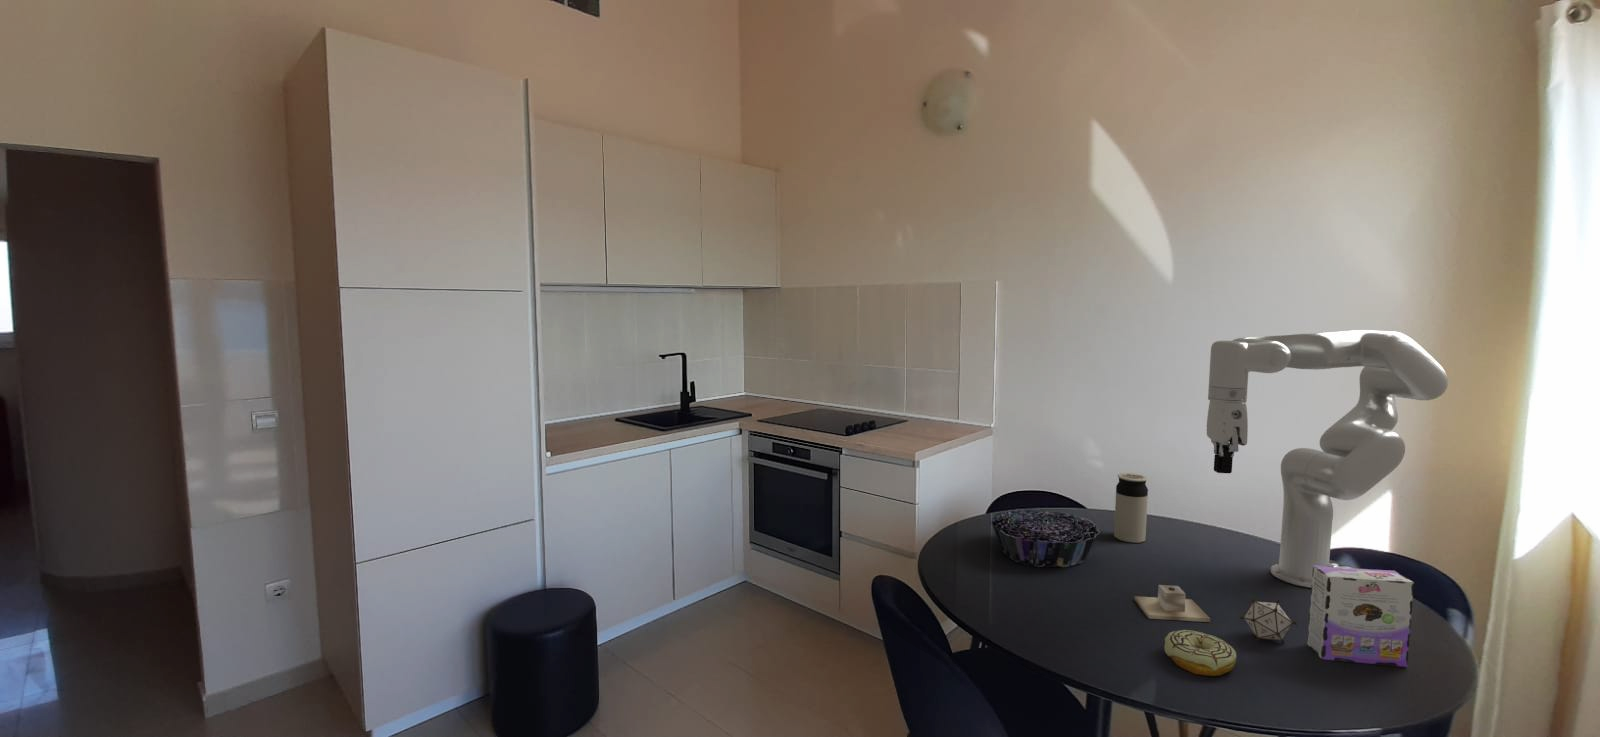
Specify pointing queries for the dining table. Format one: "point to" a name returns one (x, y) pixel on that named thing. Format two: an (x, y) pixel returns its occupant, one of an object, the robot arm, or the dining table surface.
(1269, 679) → the dining table surface
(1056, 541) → the decorative bowl
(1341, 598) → the candy box
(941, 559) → the dining table surface
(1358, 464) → the robot arm
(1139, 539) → the travel mug
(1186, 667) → the decorated donut
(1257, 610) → the game die
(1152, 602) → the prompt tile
